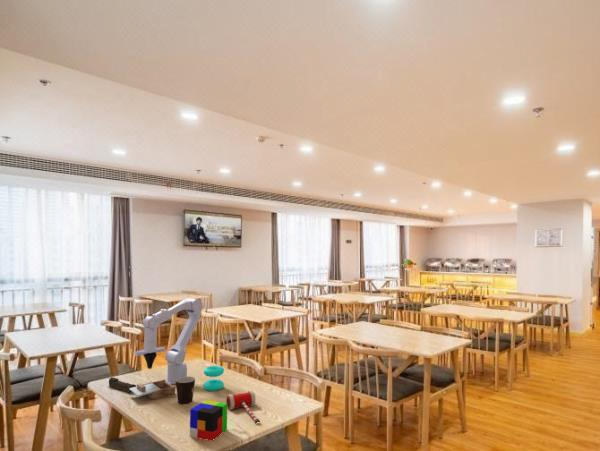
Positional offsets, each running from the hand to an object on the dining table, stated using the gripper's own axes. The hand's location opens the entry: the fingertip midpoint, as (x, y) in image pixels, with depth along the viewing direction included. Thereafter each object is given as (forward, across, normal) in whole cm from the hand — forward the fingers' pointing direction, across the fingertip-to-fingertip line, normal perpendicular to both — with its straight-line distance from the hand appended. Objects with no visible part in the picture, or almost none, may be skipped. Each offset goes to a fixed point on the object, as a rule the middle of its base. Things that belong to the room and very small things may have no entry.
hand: (149, 368), depth 201 cm
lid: (+7, +5, +10) cm, 13 cm away
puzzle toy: (+10, 0, +62) cm, 63 cm away
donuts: (+10, -25, +20) cm, 34 cm away
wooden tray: (+10, -1, +10) cm, 14 cm away
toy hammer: (+10, -22, +54) cm, 60 cm away
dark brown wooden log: (+10, +12, -8) cm, 18 cm away
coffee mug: (+10, -5, +28) cm, 30 cm away
